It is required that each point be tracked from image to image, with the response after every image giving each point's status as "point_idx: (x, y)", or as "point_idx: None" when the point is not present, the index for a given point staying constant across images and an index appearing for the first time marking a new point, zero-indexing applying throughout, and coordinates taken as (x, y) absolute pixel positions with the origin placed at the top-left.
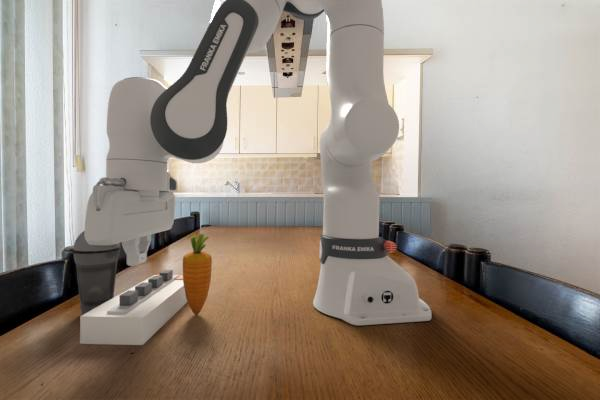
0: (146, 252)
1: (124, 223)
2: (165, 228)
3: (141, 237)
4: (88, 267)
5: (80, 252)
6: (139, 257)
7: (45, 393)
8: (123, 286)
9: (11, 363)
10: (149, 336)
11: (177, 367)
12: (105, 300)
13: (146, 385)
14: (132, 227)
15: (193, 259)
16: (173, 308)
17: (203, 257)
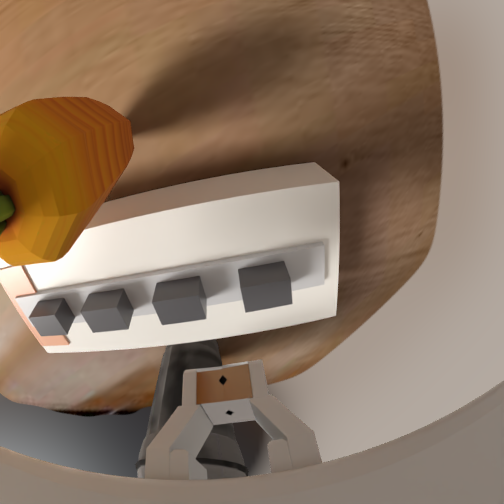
0: (187, 401)
1: (495, 474)
2: (33, 467)
3: (197, 476)
4: (232, 435)
5: (247, 473)
6: (249, 384)
7: (436, 214)
8: (77, 380)
9: (371, 311)
10: (283, 167)
11: (380, 51)
12: (197, 353)
13: (426, 85)
14: (429, 488)
15: (70, 166)
16: (139, 199)
17: (27, 123)
